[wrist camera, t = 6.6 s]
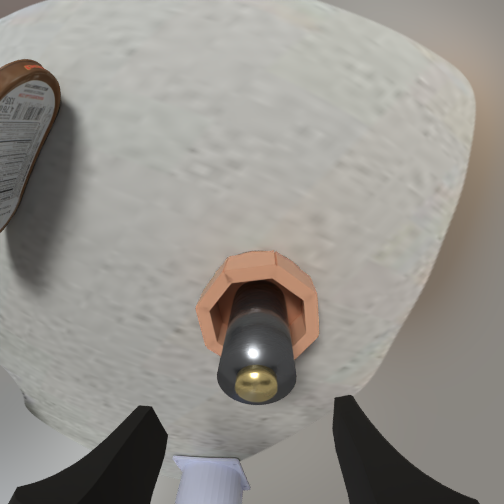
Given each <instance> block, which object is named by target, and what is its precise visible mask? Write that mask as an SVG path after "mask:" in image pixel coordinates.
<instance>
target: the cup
mask: <svg viewBox="0 0 504 504" xmlns="http://www.w3.org/2000/svg"><path fill="white" fill-rule="evenodd" d="M254 280H267V281H270V282H272V283H274V284H275V285H277V286H278V287H279V288H280V289H281V290H282V292H283V294H284V296H285V301H286V307H287V314H288V321H289V327H290V334H291V341H292V348H293V355H294V360H295V359H296V358H297V357H298V356H299V355H300V354H301V353H302V352H303V351H304V350H305V349H306V348H307V347H308V346H309V345H310V344H311V343H312V342H313V341H314V340H315V339H316V338H317V337H318V335H319V318H318V298H317V293H316V290H315V287H314V285H313V282H312V280H311V278H310V276H309V275H307V274H306V273H305V272H303V271H302V270H301V269H300V268H299V267H298V266H297V265H296V264H295V263H294V262H293V261H291V260H290V259H288V258H286V257H284V256H282V255H281V254H279V253H278V252H275V253H274V251H250V252H245V253H242V254H239V255H235V256H229V258H227V259H226V260H225V262H224V263H223V264H222V265H221V267H220V268H219V269H218V270H217V271H216V273H215V274H214V276H213V278H212V279H211V280H210V282H209V283H208V284H207V286H206V287H205V288H204V290H203V292H202V294H201V296H200V299H199V301H198V303H197V305H196V308H195V309H196V312H197V316H198V320H199V324H200V327H201V331H202V335H203V338H204V342H205V346H207V348H208V349H209V350H211V351H213V352H214V353H216V354H218V355H219V356H221V354H222V349H223V345H224V340H225V335H226V331H227V326H228V322H229V317H230V313H231V308H232V304H233V299H234V296H235V293H236V291H237V290H238V289H239V288H240V287H241V286H242V285H243V284H245V283H247V282H249V281H254Z"/></svg>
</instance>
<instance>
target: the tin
mask: <svg viewBox="0 0 504 504" xmlns="http://www.w3.org/2000/svg"><path fill="white" fill-rule="evenodd" d="M60 99H61V92H60V86H59V83H58V81H57V79H56V78H55V77H54V76H53V75H52V74H51V73H50V72H49V71H47V70H46V69H44V68H43V67H42V65H41V64H39V63H38V62H36V61H33V60H29V59H22V60H17V61H14V62H11V63H8V64H6V65H4V66H2V67H1V68H0V233H1V232H2V230H3V229H4V228H5V227H6V225H7V224H8V223H9V221H10V220H11V218H12V217H13V215H14V214H15V212H16V210H17V208H18V206H19V203H20V201H21V198H22V196H23V193H24V190H25V187H26V184H27V182H28V179H29V176H30V174H31V171H32V169H33V166H34V164H35V162H36V159H37V157H38V155H39V152H40V150H41V148H42V146H43V144H44V142H45V139H46V137H47V135H48V133H49V131H50V129H51V127H52V125H53V123H54V121H55V118H56V116H57V113H58V110H59V105H60Z"/></svg>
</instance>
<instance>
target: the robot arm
mask: <svg viewBox="0 0 504 504" xmlns="http://www.w3.org/2000/svg"><path fill="white" fill-rule="evenodd" d="M333 435H334V442H335V448H336V453H337V456H338V460H339V464H340V467H341V471H342V474H343V478H344V482H345V485H346V489H347V492H348V497H349V502H350V504H479V502H478V501H477V500H476V499H473V498H470V497H467V496H465V495H462V494H460V493H458V492H456V491H454V490H452V489H450V488H448V487H446V486H444V485H442V484H441V483H439V482H437V481H436V480H434V479H433V478H431V477H429V476H428V475H426V474H425V473H423V472H422V471H421V470H419V469H418V468H417V467H415V466H414V465H413V464H411V463H410V462H409V461H408V460H407V459H405V458H404V457H403V456H402V455H401V454H400V453H399V452H398V451H397V450H396V449H395V448H394V447H393V446H392V445H391V444H390V443H389V442H388V441H387V440H386V439H385V438H384V437H383V436H382V435H381V434H380V432H379V431H378V430H377V429H376V428H375V426H374V425H373V424H372V423H371V422H370V420H369V419H368V418H367V416H366V415H365V414H364V412H363V411H362V410H361V408H360V407H359V405H358V404H357V402H356V401H355V399H354V397H353V396H351V395H347V396H342V397H336V398H335V400H334V416H333ZM167 438H168V434H167V433H166V431H165V429H164V428H163V426H162V424H161V422H160V421H159V419H158V417H157V415H156V413H155V411H154V410H153V408H152V406H140V405H139V406H138V407H137V408H136V409H135V410H134V411H133V412H132V413H131V414H130V415H129V416H128V417H127V418H126V419H125V420H124V421H123V422H122V423H121V424H120V425H119V426H118V427H117V428H116V429H115V430H114V431H113V432H112V433H111V434H110V435H109V436H108V437H107V438H106V439H105V440H104V441H103V442H102V443H100V444H99V445H98V446H97V447H96V448H95V449H93V450H92V451H91V452H90V453H89V454H87V455H86V456H85V457H84V458H82V459H81V460H79V461H78V462H76V463H75V464H73V465H71V466H70V467H68V468H66V469H64V470H63V471H61V472H59V473H57V474H55V475H53V476H51V477H48V478H46V479H43V480H41V481H38V482H35V483H32V484H28V485H24V486H20V487H17V489H16V490H15V492H14V494H13V496H12V498H11V500H10V501H9V503H8V504H150V502H151V497H152V494H153V490H154V488H155V484H156V481H157V478H158V475H159V472H160V469H161V466H162V462H163V459H164V456H165V451H166V445H167ZM173 460H174V461H175V463H176V464H177V465H178V467H179V468H180V470H181V471H182V476H181V480H180V484H179V488H178V493H177V497H176V501H175V504H242V495H243V490H250V485H249V483H248V481H247V478H246V476H245V474H244V471H243V469H242V467H241V464H240V461H239V460H238V459H236V458H204V457H188V456H177V455H175V456H173Z"/></svg>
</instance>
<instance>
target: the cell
mask: <svg viewBox="0 0 504 504" xmlns="http://www.w3.org/2000/svg"><path fill="white" fill-rule="evenodd" d="M217 380H218V383H219V386H220V387H221V389H222V390H223V391H224V392H225V393H226V394H227V395H228V396H229V397H231V398H232V399H234V400H236V401H239V402H242V403H245V404H251V405H264V404H269V403H273V402H276V401H278V400H280V399H282V398H284V397H285V396H287V395H288V394H289V393H290V392H291V390H292V389H293V387H294V385H295V383H296V370H295V363H294V355H293V348H292V341H291V334H290V327H289V321H288V314H287V307H286V301H285V296H284V294H283V292H282V290H281V289H280V288H279V287H278V286H277V285H275V284H274V283H272V282H270V281H267V280H254V281H249V282H247V283H245V284H243V285H242V286H241V287H240V288H239V289H238V290H237V291H236V293H235V296H234V299H233V304H232V308H231V313H230V317H229V322H228V326H227V331H226V335H225V340H224V345H223V349H222V354H221V358H220V363H219V368H218V372H217Z"/></svg>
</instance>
